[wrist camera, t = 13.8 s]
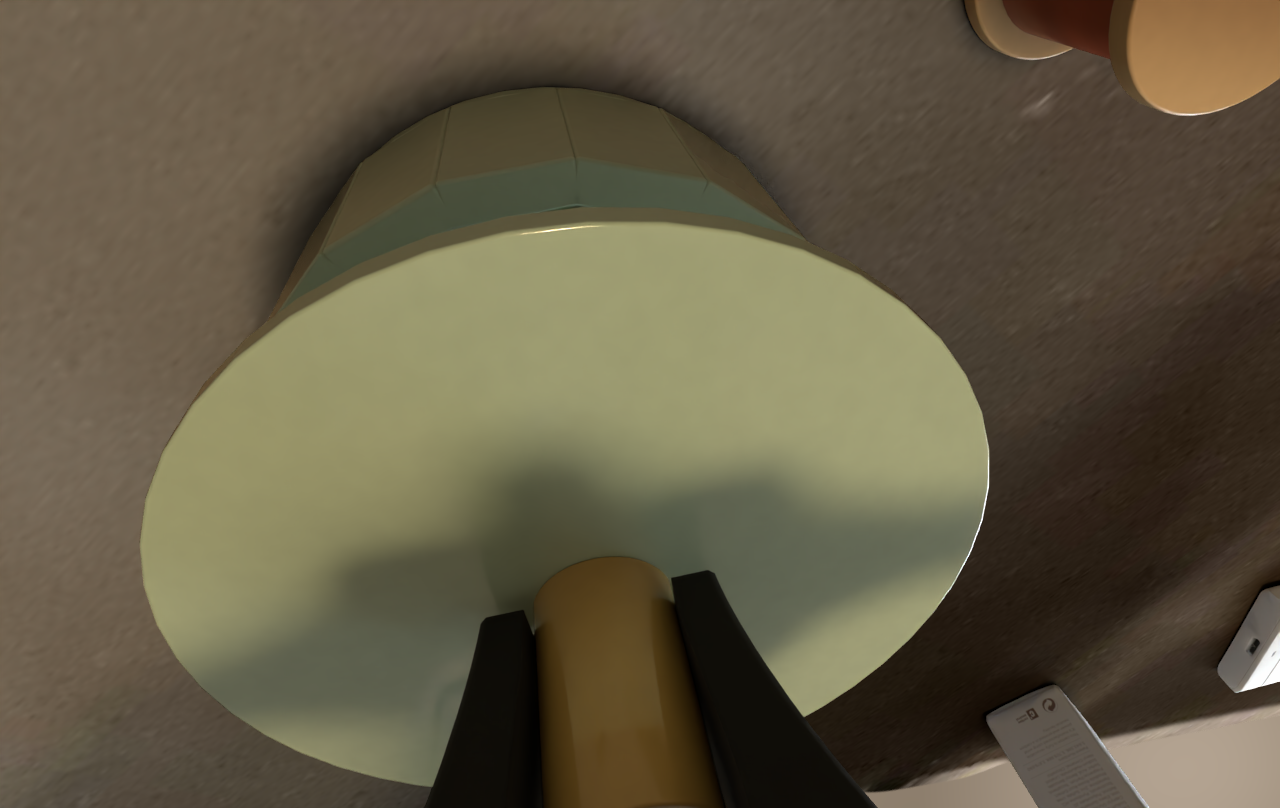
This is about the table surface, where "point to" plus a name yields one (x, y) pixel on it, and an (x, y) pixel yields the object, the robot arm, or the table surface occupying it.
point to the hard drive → (1255, 646)
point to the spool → (1149, 44)
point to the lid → (562, 491)
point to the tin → (525, 175)
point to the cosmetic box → (1060, 754)
